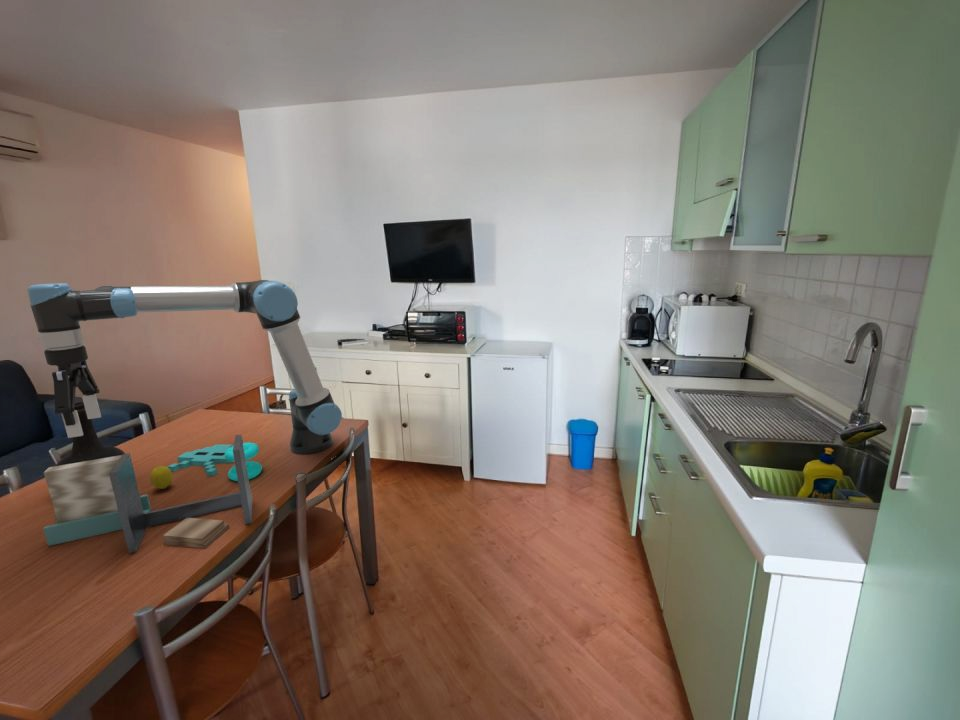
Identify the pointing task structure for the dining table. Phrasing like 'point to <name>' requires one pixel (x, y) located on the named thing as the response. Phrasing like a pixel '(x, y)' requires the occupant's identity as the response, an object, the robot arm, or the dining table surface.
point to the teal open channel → (87, 526)
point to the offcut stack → (195, 533)
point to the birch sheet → (82, 489)
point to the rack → (138, 521)
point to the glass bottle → (87, 442)
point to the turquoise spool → (252, 466)
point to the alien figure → (203, 458)
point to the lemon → (161, 477)
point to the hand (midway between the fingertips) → (85, 426)
